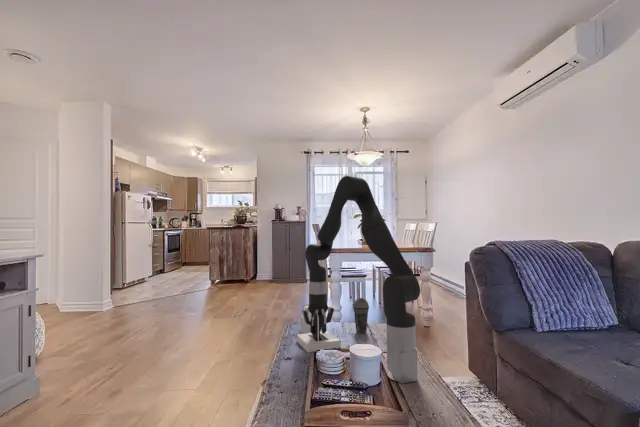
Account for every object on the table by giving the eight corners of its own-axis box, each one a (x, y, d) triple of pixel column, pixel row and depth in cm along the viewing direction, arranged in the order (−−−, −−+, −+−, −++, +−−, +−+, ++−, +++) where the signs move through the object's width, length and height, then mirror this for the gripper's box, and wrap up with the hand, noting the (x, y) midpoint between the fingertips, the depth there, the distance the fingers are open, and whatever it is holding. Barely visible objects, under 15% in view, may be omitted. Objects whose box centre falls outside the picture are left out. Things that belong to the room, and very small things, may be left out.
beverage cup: (370, 335, 166) (369, 290, 166) (353, 335, 166) (353, 290, 166) (368, 330, 173) (368, 287, 174) (352, 330, 173) (352, 287, 174)
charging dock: (340, 347, 149) (340, 340, 150) (307, 352, 144) (307, 344, 145) (327, 337, 163) (327, 330, 163) (296, 341, 158) (296, 334, 158)
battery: (325, 342, 151) (325, 314, 151) (316, 343, 150) (315, 314, 150) (321, 337, 157) (320, 310, 158) (312, 338, 156) (312, 310, 157)
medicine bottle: (303, 328, 176) (303, 303, 177) (318, 329, 175) (318, 303, 176) (300, 333, 169) (300, 306, 170) (316, 333, 168) (316, 307, 169)
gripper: (330, 289, 160) (330, 329, 160) (298, 291, 155) (299, 333, 154) (337, 292, 153) (337, 334, 153) (304, 294, 148) (304, 338, 147)
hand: (318, 333), depth 153 cm, fingers closed on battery, 4 cm apart
